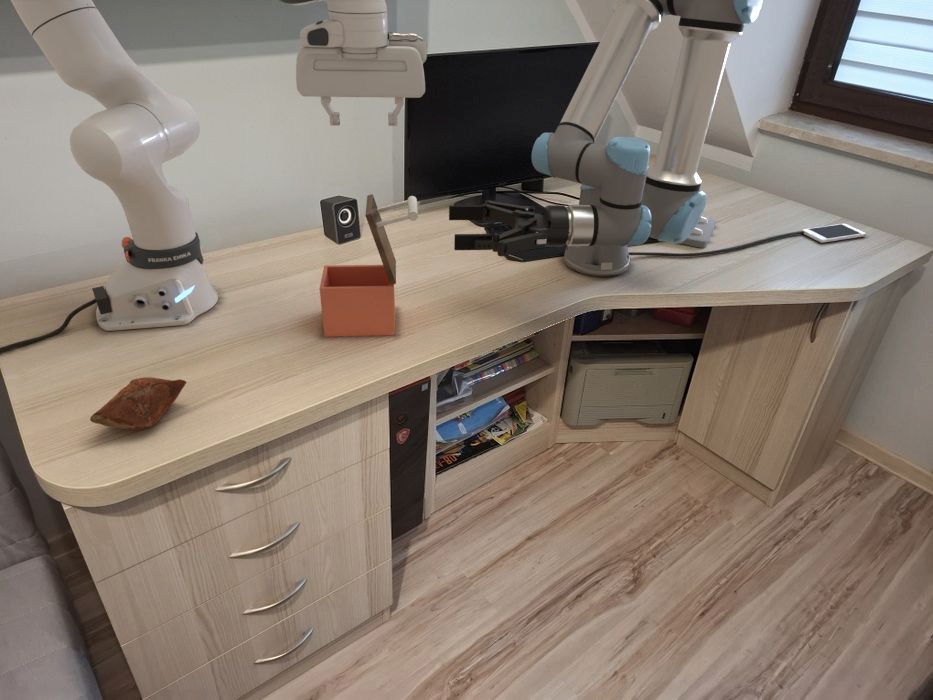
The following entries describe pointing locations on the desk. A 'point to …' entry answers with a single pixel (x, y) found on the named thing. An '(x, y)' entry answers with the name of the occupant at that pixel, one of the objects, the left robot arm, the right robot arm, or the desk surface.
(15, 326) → the desk surface
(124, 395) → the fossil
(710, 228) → the light switch
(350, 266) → the chest
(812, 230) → the smartphone
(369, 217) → the lid
